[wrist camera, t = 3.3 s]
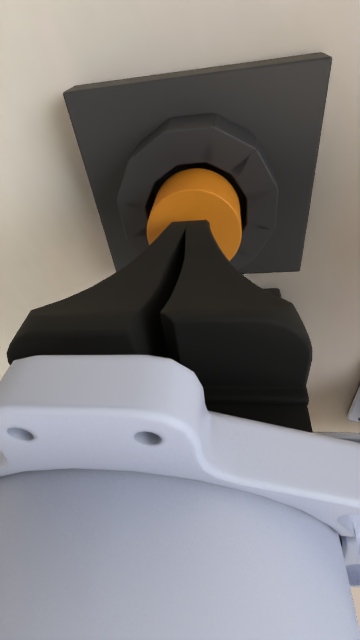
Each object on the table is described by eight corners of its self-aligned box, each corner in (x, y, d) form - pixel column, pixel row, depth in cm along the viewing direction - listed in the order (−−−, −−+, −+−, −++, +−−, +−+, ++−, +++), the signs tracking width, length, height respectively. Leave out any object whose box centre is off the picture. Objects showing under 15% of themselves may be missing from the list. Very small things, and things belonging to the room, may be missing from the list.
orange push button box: (323, 51, 12) (349, 63, 10) (295, 256, 19) (307, 296, 16) (74, 85, 14) (41, 103, 11) (123, 264, 20) (109, 302, 18)
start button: (240, 163, 13) (242, 184, 11) (239, 247, 15) (241, 273, 13) (147, 171, 13) (137, 193, 12) (161, 251, 16) (155, 277, 14)
